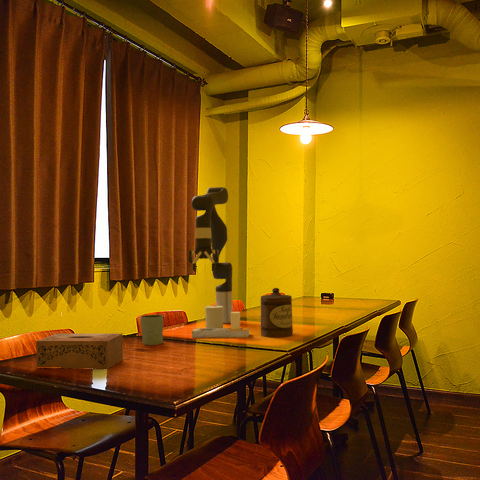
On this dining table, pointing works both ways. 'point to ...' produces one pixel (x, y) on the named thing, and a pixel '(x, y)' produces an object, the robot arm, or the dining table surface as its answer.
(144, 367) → the dining table surface
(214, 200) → the robot arm
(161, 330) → the grey green cup
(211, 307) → the can
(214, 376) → the dining table surface
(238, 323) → the block
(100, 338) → the tissue box cover
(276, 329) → the wooden container
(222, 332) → the rail
